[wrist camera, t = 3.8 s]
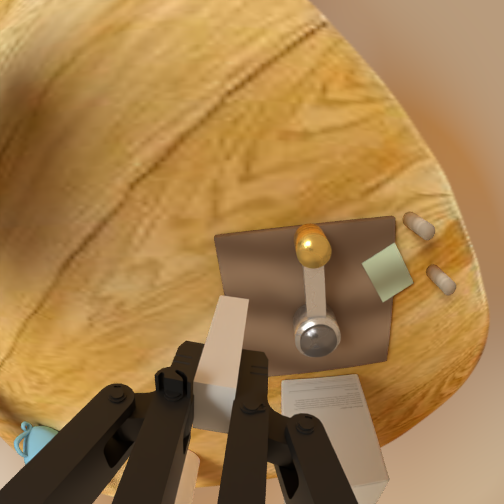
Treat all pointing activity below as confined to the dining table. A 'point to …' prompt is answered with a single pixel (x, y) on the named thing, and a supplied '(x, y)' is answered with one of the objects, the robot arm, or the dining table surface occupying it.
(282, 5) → the dining table surface
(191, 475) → the cylindrical container
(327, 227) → the dial board
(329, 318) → the crank handle
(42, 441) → the teapot
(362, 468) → the supplement box
